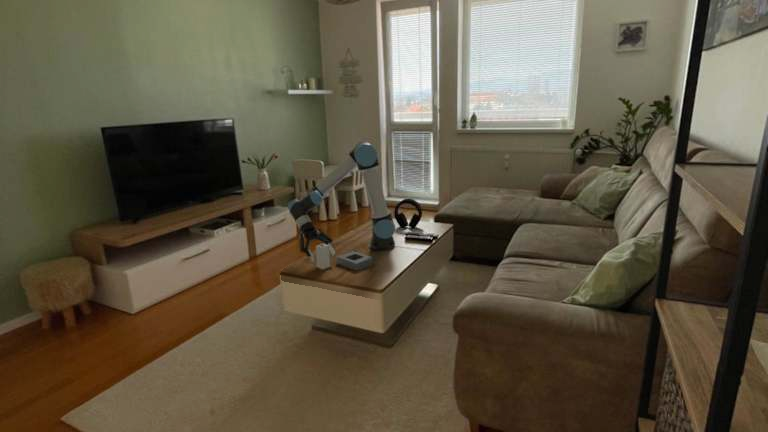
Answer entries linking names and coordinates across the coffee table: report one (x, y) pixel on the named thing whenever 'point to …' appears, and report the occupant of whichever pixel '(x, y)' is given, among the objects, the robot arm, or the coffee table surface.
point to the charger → (322, 256)
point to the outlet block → (355, 260)
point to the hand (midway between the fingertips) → (324, 257)
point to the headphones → (401, 217)
